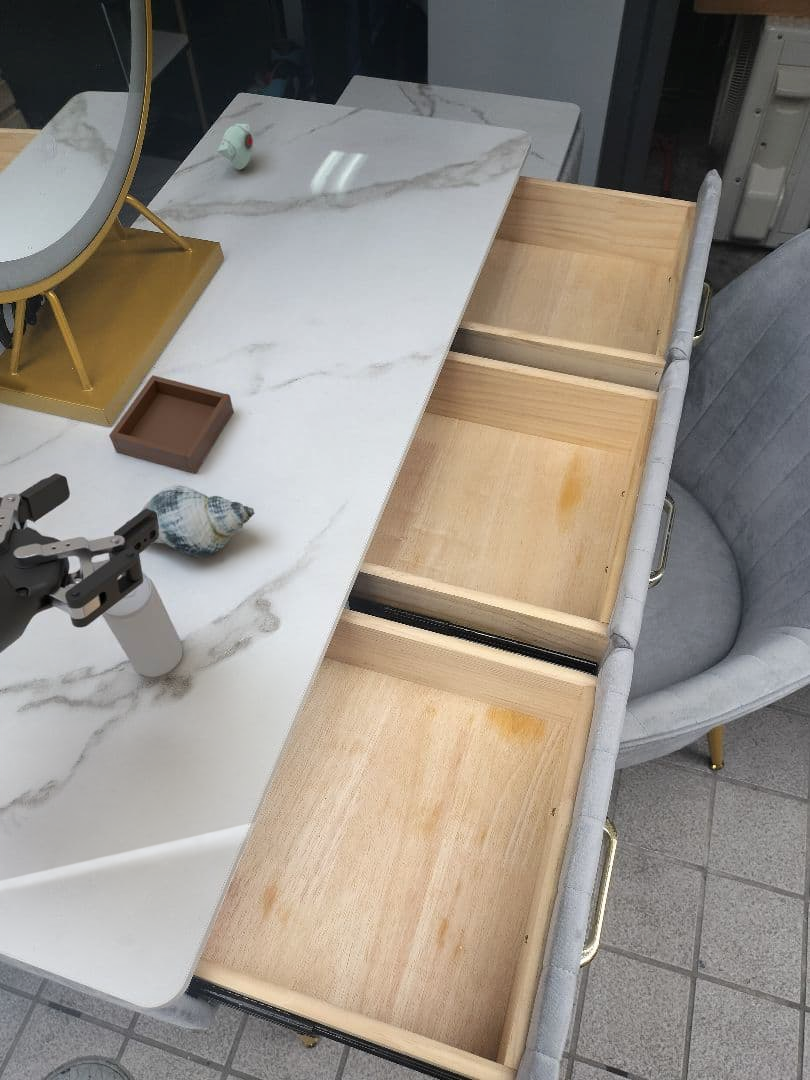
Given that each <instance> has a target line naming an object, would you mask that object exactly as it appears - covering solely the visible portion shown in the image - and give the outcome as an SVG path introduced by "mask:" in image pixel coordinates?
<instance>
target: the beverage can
mask: <svg viewBox="0 0 810 1080" xmlns="http://www.w3.org/2000/svg"><path fill="white" fill-rule="evenodd" d="M142 574H143V583H142V584H141V585H139V586H138V587H137V588H136V589H134V590H133V591H132V592H130V593H129V594H128V595H126V596H125V597H124V598H123V599H121V600H120V601H119V602H117V603H116V604H115V605H113V606H112V607H111V608H110V609H108V610H107V611H106V612H104V613H103V614H102V615H101V616H102V617H103V619H104V621H105V622H106V624H107V626H108V627H109V629H110V631H111V632H112V634H113V635H114V637H115V640H117V642H118V644H119V646H120V648H121V649H122V650H123V652H124V654H125V655H126V657H127V659H128V661H129V662H130V664H131V666H132V667H133V669H134V670H135V671H136V672H137V673H138V674H140V675H142V676H144V677H150V678H157V677H160V676H163V675H166V674H168V673H169V672H171V671H172V670H173V669H174V668H176V667H177V666H178V665H179V663H180V662H181V660H182V657H183V653H184V652H183V651H184V648H183V644H182V641H181V639H180V637H179V635H178V633H177V630H176V629H175V626H174V624H173V622H172V619H171V617H170V615H169V613H168V611H167V609H166V607H165V605H164V602H163V601H162V598H161V596H160V594H159V592H158V590H157V588H156V585H155V583H154V582H153V581H152V579H151V578H150V577H149V576H148V575H147V573H145V572H143V571H142ZM121 577H122V575H120V576H119V577H118V579H120V578H121ZM118 579H117V580H118Z"/></svg>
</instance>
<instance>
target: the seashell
mask: <svg viewBox="0 0 810 1080" xmlns="http://www.w3.org/2000/svg"><path fill="white" fill-rule="evenodd" d="M146 508H147V509H150V510H153V511H155V512H156V513H157V517H158V524H159V536H158V538H157V540H156V541H154V542H153V544H166V545H167V546H169V547H171V548H173V549H174V550H176V551H178V552H180V553H182V554H185V555H189V556H194V557H207V556H211V555H214V554H216V553H218V552H220V551H221V550H222V549H223V548H224V547H225V546H226V544H227V543H228V542H229V541H230V540H231V539H232V536H233V535H235V534H237V533H239V532H240V531H241V530H243V528H244V525H245V524H246V523H248V521H250V519H251V518H252V517H253V516H254V515H255V510H254V508H253V507H249V506H248V505H243V504H242V503H241V502H239V501H231V500H229V499H227V498H224V497H222V496H218V495H213V496H207V495H206V494H205V493H202V492H200V491H198V490H196V489H194V488H191V487H189V486H186V485H185V486H184V485H176V484H175V485H170V486H166V487H164V488H163V489H161V490H159V491H157V492H156V493H155V494H154V495H153V496H152V497H150V499H149V500H148V502H146V503H145V505H144V506H143V508H142V509H141V511H143V510H144V509H146ZM130 520H131V519H128V520H127V521H126V522H125V524H126V523H127V522H128V521H130Z"/></svg>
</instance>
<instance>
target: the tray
mask: <svg viewBox="0 0 810 1080" xmlns="http://www.w3.org/2000/svg"><path fill="white" fill-rule="evenodd" d="M233 407H234V406H233V403H232V399H231V395H230V394H228V393H223V392H220V391H215V390H212V389H208V388H203V387H201V386H196V385H193V384H190V383H189V384H188V383H186V382H180V381H177V380H172V379H168V378H164V377H161V376H157V375H151V377H150V378H149V379H148V381H147V382H146V383H145V385H144V386H143V388H142V389H141V390H140V391H139V393H138V394H137V396H136V398H134V400H133V401H132V403H130V405H129V406H128V408H127V410H126V411H125V413H124V414H123V415H122V417H121V418H120V419H119V421H118V422H117V424H116V425H115V427H114V428H113V429H112V430H111V432H110V433H109V435H108V436H109V438H110V441H111V444H112V445H113V448H114V450H115V452H116V453H119V454H122V455H126V456H130V457H132V458H133V457H134V458H136V459H141V460H144V461H148V462H152V463H155V464H159V465H162V466H166V467H169V468H174V469H177V470H181V471H185V472H188V473H191V474H197V472H198V471H199V470H200V467H201V466H202V464H203V463H204V461H205V460H206V458H207V456H208V454H209V453H210V451H211V450H212V448H213V447H214V445H215V443H216V441H217V440H218V438H219V436H220V435H221V434H222V432H223V430H224V429H225V427H226V425H227V423H228V422H229V420H230V419H231V417H232V416H233V414H234V408H233Z"/></svg>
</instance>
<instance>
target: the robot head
mask: <svg viewBox="0 0 810 1080" xmlns="http://www.w3.org/2000/svg"><path fill="white" fill-rule="evenodd" d="M253 147H254V140H253V135H252V129H251V127H250V124H248V123H238V122H237V123H235V124H233V125H231V126H230V127H228V128H227V129H226V131H225V132H224V133H223V137H222V141H221V143H220V145H219V147H218V148H217V150H216V152H217V153H218V154H220V155H221V156H223V157H225V158H226V159H227V160H228V161H229V162H228V163H230V165H231V166H232V167H233V168H234V169H237V170H239V171H241V170H242V169H245V167H246V166H248V164H249V162H250V160H251V158H252V154H253Z"/></svg>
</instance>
